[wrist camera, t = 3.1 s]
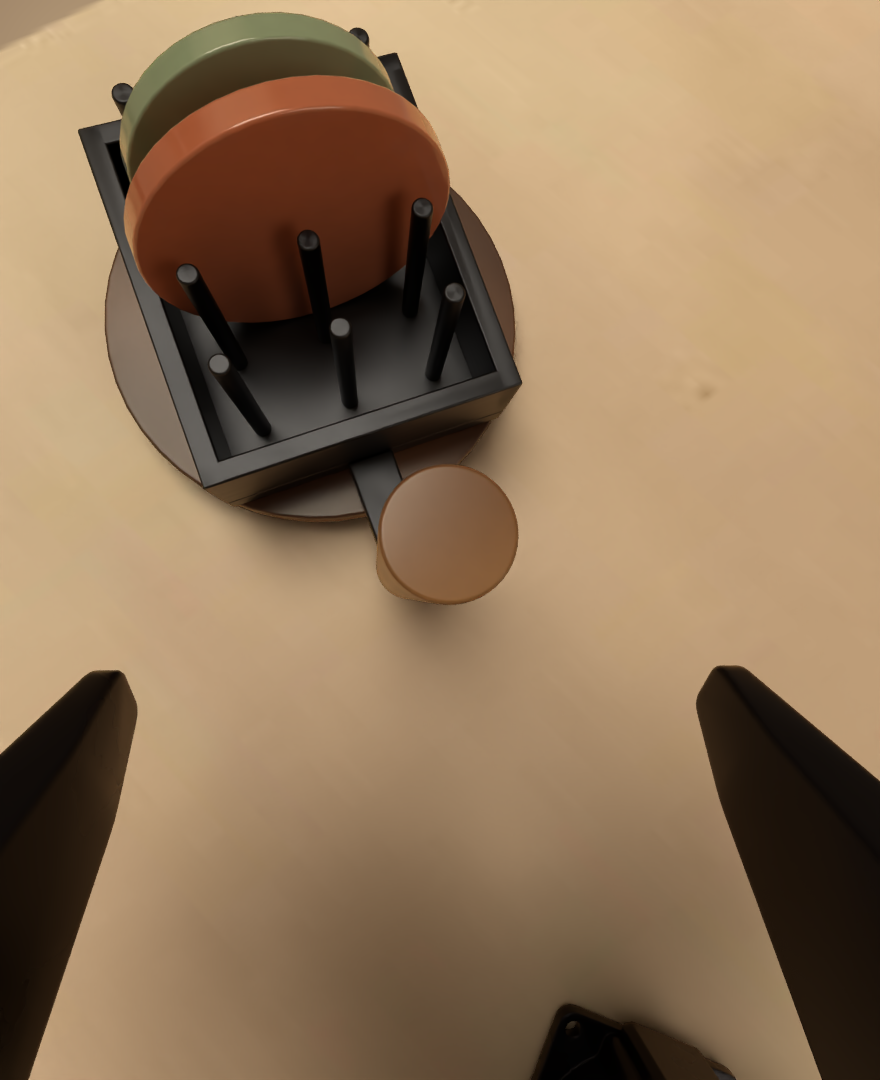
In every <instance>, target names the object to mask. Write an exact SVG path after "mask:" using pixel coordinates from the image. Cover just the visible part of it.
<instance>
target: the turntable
mask: <svg viewBox="0 0 880 1080" xmlns="http://www.w3.org/2000/svg"><path fill="white" fill-rule="evenodd" d="M449 191H450V194H451V197H452V199H453V202H454V204H455V207H456V210H457V212H458V215H459V218H460V220H461V223H462V225H463V228H464V231H465V233H466V236H467V239H468V241H469V244H470V246H471V249H472V252H473V254H474V257H475V260H476V262H477V265H478V267H479V270H480V273H481V275H482V278H483V281H484V283H485V286H486V289H487V291H488V294H489V296H490V299H491V302H492V304H493V307H494V310H495V312H496V315H497V317H498V320H499V323H500V325H501V328H502V331H503V333H504V336H505V338H506V341H507V344H508V346H509V349H510V352H511V354H512V357H513V356H514V343H515V318H514V306H513V301H512V295H511V290H510V285H509V282H508V279H507V275H506V272H505V269H504V266H503V263H502V260H501V258H500V256H499V254H498V252H497V250H496V248H495V245H494V243H493V241H492V239H491V237H490V236H489V234H488V232H487V231H486V229H485V228H484V226H483V225H482V223H481V221H480V220H479V218H478V217H477V216H476V214H475V213H474V212H473V211H472V209H471V208H470V207H469V206H468V205H467V203H466V202H465V201H464V200H463V199H462V197H461V196H460V195H458V194H457V193H456V192H455V191H454V190H453V189H452V188H451V187H450V189H449ZM105 335H106V342H107V350H108V357H109V360H110V364H111V367H112V371H113V374H114V378H115V381H116V384H117V386H118V389H119V391H120V393H121V395H122V398H123V400H124V402H125V404H126V407H127V408H128V410H129V412H130V413H131V415H132V416H133V418H134V420H135V421H136V423H137V425H138V426H139V428H140V429H141V431H142V432H143V433H144V435H145V436H146V437H147V438H148V439H149V441H150V442H151V443H152V444H153V445H154V447H155V448H156V449H157V450H158V452H159V453H161V454H162V455H163V456H164V457H165V458H166V459H167V460H168V461H169V462H170V463H171V464H172V465H173V466H175V467H176V468H177V469H178V470H179V471H180V472H182V473H183V474H184V475H186V476H187V477H189V478H190V479H191V480H193V481H194V482H196V483H197V484H199V485H200V486H201V487H202V484H201V481H200V478H199V475H198V473H197V470H196V467H195V464H194V461H193V458H192V456H191V453H190V450H189V447H188V444H187V441H186V438H185V436H184V433H183V430H182V427H181V424H180V421H179V418H178V416H177V413H176V410H175V407H174V404H173V401H172V398H171V396H170V393H169V390H168V387H167V384H166V381H165V379H164V376H163V373H162V370H161V367H160V364H159V361H158V359H157V356H156V353H155V350H154V347H153V344H152V341H151V339H150V336H149V333H148V330H147V327H146V324H145V321H144V319H143V316H142V313H141V310H140V307H139V304H138V302H137V299H136V296H135V293H134V290H133V287H132V284H131V282H130V279H129V276H128V273H127V270H126V267H125V264H124V262H123V259H122V256H121V253H120V250H119V248H118V250H117V252H116V255H115V259H114V262H113V265H112V269H111V272H110V275H109V280H108V287H107V293H106V300H105ZM490 422H491V420H490V421H487V422H484V423H481V424H478V425H475V426H472V427H470V428H467V429H464V430H461V431H458V432H455V433H452V434H449V435H446V436H443V437H440V438H437V439H434V440H431V441H428V442H425V443H422V444H419V445H416V446H413V447H410V448H407V449H404V450H401V451H398V452H395V453H394V456H395V459H396V462H397V464H398V467H399V470H400V472H401V475H402V478H403V480H404V479H405V478H406V477H407V476H409V475H411V474H412V473H414V472H416V471H418V470H420V469H423V468H425V467H429V466H433V465H439V464H455V465H459V464H460V463H461V462H462V460H463V459H464V458H465V457H466V456H467V455H468V454H469V453H470V452H471V450H472V449H473V448H474V446H475V445H476V443H477V442H478V441H479V439H480V438H481V436H482V435H483V434H484V432H485V431H486V429H487V428H488V426H489V424H490ZM238 506H240V507H243V508H245V509H248V510H251V511H253V512H256V513H259V514H264V515H268V516H272V517H277V518H281V519H286V520H296V521H306V522H329V521H342V520H349V519H355V518H361V517H366V514H365V511H364V509H363V506H362V503H361V500H360V498H359V495H358V492H357V489H356V487H355V484H354V481H353V478H352V476H351V473H350V469H349V468H348V469H345V470H342V471H339V472H336V473H333V474H330V475H327V476H324V477H321V478H318V479H315V480H312V481H310V482H307V483H304V484H301V485H298V486H295V487H292V488H289V489H286V490H283V491H280V492H277V493H274V494H271V495H268V496H265V497H262V498H259V499H256V500H253V501H250V502H247V503H244V504H241V505H238Z"/></svg>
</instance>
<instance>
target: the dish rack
mask: <svg viewBox="0 0 880 1080" xmlns="http://www.w3.org/2000/svg"><path fill="white" fill-rule="evenodd" d="M112 98H113V100H114V102H115V104H116V106H117V107H118V109H119V111H120V113H121V115H122V119H120V120H116V121H112V122H108V123H104V124H100V125H95V126H91V127H87V128H83V129H79V130H78V133H79V136H80V139H81V142H82V145H83V148H84V150H85V153H86V156H87V159H88V162H89V165H90V167H91V170H92V173H93V176H94V179H95V182H96V185H97V187H98V190H99V193H100V196H101V199H102V202H103V205H104V207H105V210H106V213H107V216H108V219H109V222H110V225H111V227H112V230H113V233H114V236H115V239H116V242H117V244H118V247H119V250H120V253H121V256H122V259H123V262H124V264H125V267H126V270H127V273H128V276H129V279H130V282H131V284H132V287H133V290H134V293H135V296H136V299H137V302H138V304H139V307H140V310H141V313H142V316H143V319H144V321H145V324H146V327H147V330H148V333H149V336H150V339H151V341H152V344H153V347H154V350H155V353H156V356H157V359H158V361H159V364H160V367H161V370H162V373H163V376H164V379H165V381H166V384H167V387H168V390H169V393H170V396H171V398H172V401H173V404H174V407H175V410H176V413H177V416H178V418H179V421H180V424H181V427H182V430H183V433H184V436H185V438H186V441H187V444H188V447H189V450H190V453H191V456H192V458H193V461H194V464H195V467H196V470H197V473H198V475H199V478H200V481H201V484H202V487H203V489H205V490H206V491H208V492H209V493H211V494H213V495H214V496H216V497H218V498H219V499H221V500H222V501H224V502H226V503H228V504H229V505H231V506H233V507H235V506H238V505H241V504H244V503H247V502H250V501H253V500H256V499H259V498H262V497H265V496H268V495H271V494H274V493H277V492H280V491H283V490H286V489H289V488H292V487H295V486H298V485H301V484H304V483H307V482H310V481H312V480H315V479H318V478H321V477H324V476H327V475H330V474H333V473H336V472H339V471H342V470H345V469H348V468H349V469H350V473H351V476H352V478H353V481H354V484H355V487H356V489H357V492H358V495H359V498H360V500H361V503H362V506H363V509H364V511H365V514H366V517H367V520H368V522H369V525H370V528H371V531H372V533H373V536H374V539H375V542H376V544H377V559H376V569H377V574H378V577H379V580H380V582H381V583H382V585H383V586H384V587H385V588H386V589H387V590H388V591H389V592H390V593H392V594H393V595H395V596H397V597H400V598H404V599H410V600H416V601H423V602H429V603H435V604H443V605H456V604H462V603H467V602H470V601H473V600H476V599H478V598H480V597H482V596H484V595H485V594H487V593H488V592H490V591H491V590H492V589H494V588H495V587H496V586H497V585H498V584H499V583H500V582H501V581H502V580H503V578H504V577H505V576H506V574H507V573H508V571H509V569H510V567H511V565H512V564H513V561H514V558H515V555H516V551H517V547H518V524H517V519H516V515H515V512H514V509H513V507H512V505H511V503H510V501H509V499H508V498H507V496H506V494H505V493H504V492H503V491H502V489H501V488H500V487H499V486H498V485H497V484H496V483H495V482H494V481H493V480H491V479H490V478H489V477H487V476H486V475H484V474H483V473H481V472H479V471H477V470H475V469H472V468H470V467H466V466H462V465H455V464H439V465H433V466H429V467H425V468H423V469H420V470H418V471H416V472H414V473H412V474H411V475H409V476H407V477H406V478H405V479H404V480H403V478H402V475H401V472H400V470H399V467H398V464H397V462H396V459H395V456H394V453H395V452H398V451H401V450H404V449H407V448H410V447H413V446H416V445H419V444H422V443H425V442H428V441H431V440H434V439H437V438H440V437H443V436H446V435H449V434H452V433H455V432H458V431H461V430H464V429H467V428H470V427H472V426H475V425H478V424H481V423H484V422H487V421H490V420H493V419H496V418H498V417H499V416H500V414H501V413H502V412H503V410H504V409H505V408H506V406H507V405H508V403H509V402H510V400H511V399H512V398H513V396H514V395H515V393H516V392H517V390H518V389H519V388H520V386H521V385H522V380H521V378H520V375H519V373H518V370H517V367H516V365H515V362H514V359H513V357H512V354H511V352H510V349H509V346H508V344H507V341H506V338H505V336H504V333H503V331H502V328H501V325H500V323H499V320H498V317H497V315H496V312H495V310H494V307H493V304H492V302H491V299H490V296H489V294H488V291H487V289H486V286H485V283H484V281H483V278H482V275H481V273H480V270H479V267H478V265H477V262H476V260H475V257H474V254H473V252H472V249H471V246H470V244H469V241H468V239H467V236H466V233H465V231H464V228H463V225H462V223H461V220H460V218H459V215H458V212H457V210H456V207H455V204H454V202H453V199H452V197H451V194H450V191H449V189H450V178H449V169H448V166H447V162H446V159H445V156H444V153H443V151H442V148H441V146H440V143H439V140H438V138H437V135H436V133H435V131H434V130H433V128H432V126H431V124H430V122H429V121H428V120H427V119H426V117H425V116H424V115H423V114H422V113H421V112H420V111H419V109H418V107H417V105H416V102H415V99H414V97H413V94H412V92H411V89H410V86H409V84H408V81H407V78H406V76H405V73H404V70H403V68H402V65H401V63H400V60H399V57H398V55H397V53H391V54H387V55H383V56H379V57H377V56H376V55H375V54H374V53H373V52H372V51H371V49H370V48H369V36H368V34H367V32H366V31H365V30H363V29H361V28H353V29H352V30H350V32H348V31H346V30H344V29H343V28H341V27H339V26H337V25H334V24H332V23H329V22H327V21H324V20H322V19H318V18H314V17H310V16H306V15H302V14H293V13H283V12H271V13H254V14H248V15H242V16H236V17H232V18H229V19H226V20H222V21H219V22H215V23H213V24H210V25H208V26H206V27H204V28H201V29H199V30H197V31H195V32H193V33H191V34H189V35H188V36H186V37H184V38H183V39H181V40H179V41H178V42H176V43H175V44H173V45H172V46H171V47H170V48H168V49H167V50H166V51H165V52H163V53H162V54H161V55H160V56H159V57H157V59H156V60H155V61H154V62H153V63H152V64H151V65H150V66H149V67H148V68H147V69H146V71H145V72H144V73H143V74H142V76H141V77H140V79H139V80H138V82H137V83H136V85H135V86H134V88H132V87H131V86H130V85H128V84H125V83H119V84H117V85H115V86H114V87H113V89H112Z"/></svg>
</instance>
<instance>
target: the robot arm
mask: <svg viewBox="0 0 880 1080" xmlns="http://www.w3.org/2000/svg"><path fill="white" fill-rule="evenodd" d="M696 709H697V714H698V718H699V721H700V725H701V729H702V733H703V737H704V741H705V745H706V749H707V753H708V757H709V761H710V765H711V769H712V773H713V777H714V781H715V785H716V788H717V792H718V795H719V799H720V802H721V805H722V808H723V811H724V814H725V817H726V820H727V822H728V825H729V828H730V830H731V833H732V836H733V839H734V841H735V844H736V847H737V849H738V852H739V855H740V858H741V860H742V863H743V866H744V869H745V871H746V874H747V877H748V879H749V882H750V885H751V888H752V890H753V893H754V896H755V898H756V901H757V904H758V907H759V909H760V912H761V915H762V918H763V920H764V923H765V926H766V928H767V931H768V934H769V937H770V939H771V942H772V945H773V948H774V950H775V953H776V956H777V958H778V961H779V964H780V967H781V969H782V972H783V975H784V977H785V980H786V983H787V986H788V988H789V991H790V994H791V997H792V999H793V1002H794V1005H795V1007H796V1010H797V1013H798V1016H799V1018H800V1021H801V1024H802V1026H803V1029H804V1032H805V1035H806V1037H807V1040H808V1043H809V1046H810V1048H811V1051H812V1054H813V1056H814V1059H815V1062H816V1065H817V1067H818V1070H819V1073H820V1076H821V1078H822V1080H880V781H879V780H878V779H877V778H876V777H874V776H873V775H872V774H871V773H870V772H868V771H867V770H866V769H865V768H864V767H863V766H861V765H860V764H859V763H858V762H857V761H855V760H854V759H853V758H852V757H851V756H849V755H848V754H847V753H846V752H845V751H843V750H842V749H841V748H840V747H839V746H838V745H836V744H835V743H834V742H833V741H832V740H830V739H829V738H828V737H827V736H826V735H824V734H823V733H822V732H821V731H820V730H819V729H817V728H816V727H815V726H814V725H813V724H811V723H810V722H809V721H808V720H807V719H805V718H804V717H803V716H802V715H801V714H799V713H798V712H797V711H796V710H795V709H794V708H792V707H791V706H790V705H789V704H788V703H786V702H785V701H784V700H783V699H782V698H780V697H779V696H778V695H777V694H776V693H775V692H773V691H772V690H771V689H770V688H769V687H767V686H766V685H765V684H764V683H763V682H761V681H760V680H759V679H758V678H757V677H755V676H754V675H753V674H752V673H751V672H750V671H748V670H747V669H745V668H744V667H741V666H737V665H732V666H717V667H715V668H714V669H713V670H712V671H711V673H710V674H709V676H708V678H707V680H706V681H705V683H704V685H703V687H702V688H701V690H700V692H699V694H698V696H697V700H696ZM136 720H137V704H136V701H135V698H134V696H133V693H132V691H131V689H130V686H129V684H128V681H127V679H126V677H125V675H124V674H123V673H122V672H121V671H118V670H99V671H92V672H90V673H88V674H87V675H85V676H84V677H83V678H82V679H81V680H80V681H79V682H78V683H77V684H76V685H74V686H73V687H72V688H71V689H70V690H69V691H68V692H67V693H66V694H65V695H64V696H63V697H62V698H60V699H59V700H58V701H57V702H56V703H55V704H54V705H53V706H52V707H51V708H50V709H49V710H48V711H46V712H45V713H44V714H43V715H42V716H41V717H40V718H39V719H38V720H37V721H36V722H35V723H34V724H32V725H31V726H30V727H29V728H28V729H27V730H26V731H25V732H24V733H23V734H22V735H21V736H20V737H18V738H17V739H16V740H15V741H14V742H13V743H12V744H11V745H10V746H9V747H8V748H7V749H5V750H4V751H3V752H2V753H1V754H0V1080H28V1079H29V1076H30V1073H31V1070H32V1067H33V1064H34V1061H35V1058H36V1055H37V1052H38V1049H39V1046H40V1043H41V1040H42V1037H43V1034H44V1031H45V1028H46V1025H47V1022H48V1020H49V1017H50V1014H51V1011H52V1008H53V1005H54V1002H55V999H56V996H57V993H58V990H59V987H60V984H61V981H62V978H63V975H64V972H65V969H66V966H67V963H68V960H69V957H70V954H71V951H72V948H73V945H74V942H75V939H76V936H77V933H78V930H79V927H80V924H81V921H82V918H83V915H84V912H85V909H86V906H87V903H88V900H89V897H90V894H91V891H92V888H93V885H94V882H95V879H96V876H97V873H98V870H99V867H100V864H101V861H102V858H103V855H104V852H105V849H106V846H107V843H108V840H109V837H110V834H111V831H112V828H113V824H114V821H115V817H116V813H117V809H118V804H119V800H120V795H121V790H122V786H123V781H124V776H125V772H126V767H127V763H128V758H129V753H130V749H131V744H132V739H133V735H134V730H135V725H136ZM571 1021H577V1023H576V1025H575V1026H574V1027H573V1028H571V1029H566V1026H567V1024H568V1023H569V1022H571ZM531 1080H736V1078H735V1077H734V1076H733V1074H732V1073H731V1072H730V1070H729V1069H728V1068H726V1067H725V1066H723V1065H721V1064H718V1063H716V1062H713V1061H711V1060H708V1059H706V1058H704V1057H703V1056H702V1054H701V1053H700V1051H699V1050H698V1049H697V1048H695V1047H693V1046H691V1045H688V1044H686V1043H683V1042H681V1041H678V1040H676V1039H674V1038H671V1037H669V1036H666V1035H664V1034H661V1033H659V1032H656V1031H654V1030H652V1029H649V1028H647V1027H644V1026H642V1025H639V1024H637V1023H634V1022H628V1023H624V1024H623V1025H622V1024H620V1023H618V1022H615V1021H613V1020H610V1019H608V1018H605V1017H603V1016H600V1015H598V1014H595V1013H593V1012H591V1011H588V1010H586V1009H583V1008H581V1007H578V1006H576V1005H571V1004H568V1005H564V1006H562V1007H561V1008H560V1009H559V1010H558V1011H557V1013H556V1015H555V1017H554V1020H553V1023H552V1025H551V1028H550V1030H549V1033H548V1036H547V1038H546V1041H545V1044H544V1046H543V1049H542V1052H541V1054H540V1057H539V1060H538V1062H537V1065H536V1068H535V1070H534V1073H533V1076H532V1078H531Z"/></svg>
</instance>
